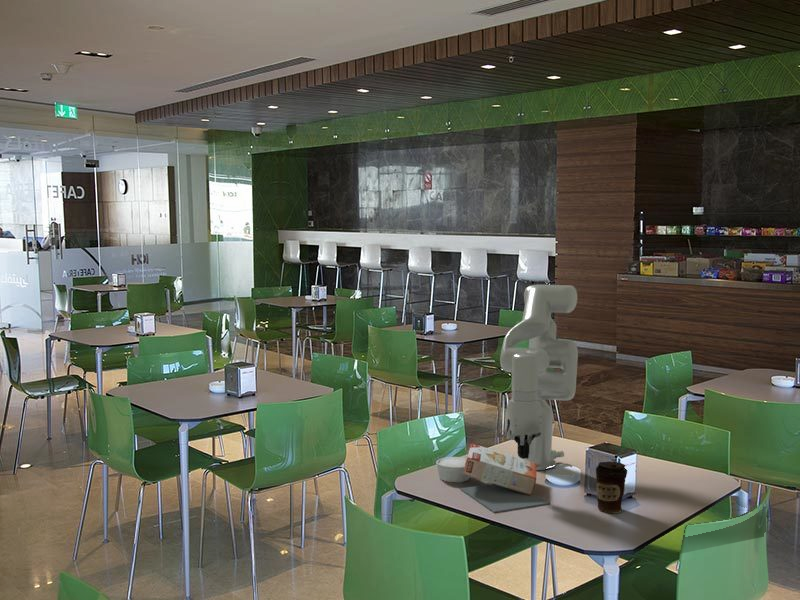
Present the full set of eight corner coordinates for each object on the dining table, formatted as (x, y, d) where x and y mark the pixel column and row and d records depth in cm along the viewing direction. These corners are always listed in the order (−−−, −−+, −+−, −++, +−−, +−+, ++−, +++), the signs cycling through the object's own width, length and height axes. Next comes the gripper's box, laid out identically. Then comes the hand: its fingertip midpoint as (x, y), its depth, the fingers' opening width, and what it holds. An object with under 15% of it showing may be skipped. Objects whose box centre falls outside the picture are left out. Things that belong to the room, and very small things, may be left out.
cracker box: (537, 477, 225) (467, 456, 228) (532, 496, 226) (462, 475, 229) (537, 461, 239) (470, 442, 242) (532, 479, 240) (465, 460, 243)
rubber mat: (512, 482, 239) (513, 480, 239) (549, 504, 221) (549, 502, 221) (460, 489, 232) (460, 488, 232) (493, 513, 214) (493, 511, 214)
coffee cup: (621, 518, 211) (622, 471, 210) (590, 512, 215) (592, 466, 214) (628, 507, 218) (630, 462, 217) (599, 502, 223) (600, 457, 221)
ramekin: (432, 473, 247) (432, 457, 246) (465, 471, 250) (466, 455, 249) (442, 485, 236) (442, 468, 236) (477, 482, 239) (477, 466, 238)
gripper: (539, 390, 232) (538, 450, 234) (495, 394, 227) (494, 456, 229) (553, 396, 225) (552, 458, 227) (508, 400, 220) (507, 464, 222)
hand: (523, 457), depth 228 cm, fingers closed
